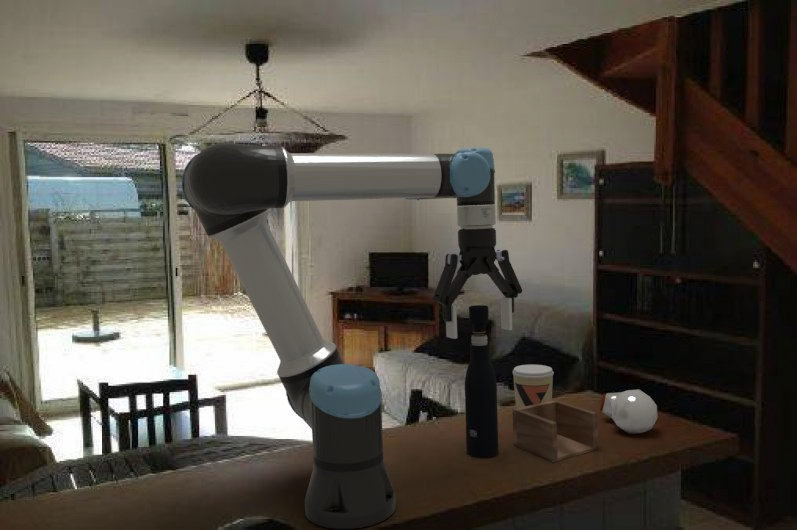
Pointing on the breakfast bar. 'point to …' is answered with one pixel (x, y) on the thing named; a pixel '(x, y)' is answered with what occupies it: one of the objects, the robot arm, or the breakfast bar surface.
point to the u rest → (555, 430)
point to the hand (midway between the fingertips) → (480, 333)
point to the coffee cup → (532, 384)
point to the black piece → (480, 391)
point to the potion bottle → (630, 410)
